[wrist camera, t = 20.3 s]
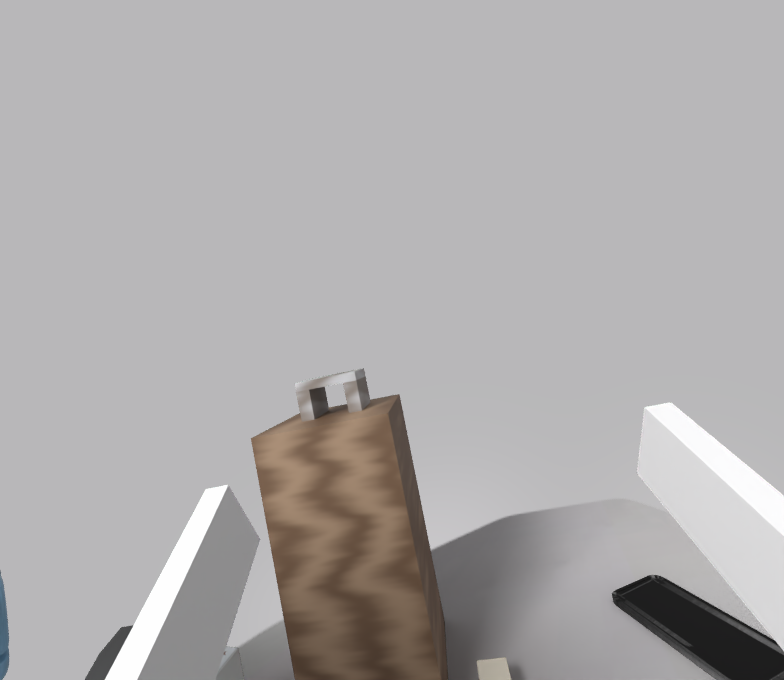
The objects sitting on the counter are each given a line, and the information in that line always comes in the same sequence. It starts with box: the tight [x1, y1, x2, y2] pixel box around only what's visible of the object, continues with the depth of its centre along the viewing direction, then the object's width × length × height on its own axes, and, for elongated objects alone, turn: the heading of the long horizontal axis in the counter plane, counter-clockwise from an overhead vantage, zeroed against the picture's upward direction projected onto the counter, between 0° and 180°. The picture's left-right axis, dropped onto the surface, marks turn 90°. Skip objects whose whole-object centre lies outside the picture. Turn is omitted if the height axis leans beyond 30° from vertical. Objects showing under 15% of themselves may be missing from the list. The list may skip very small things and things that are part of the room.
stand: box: [251, 369, 448, 680], centre depth 42 cm, size 14×14×34 cm
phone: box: [612, 575, 784, 680], centre depth 39 cm, size 8×1×15 cm
